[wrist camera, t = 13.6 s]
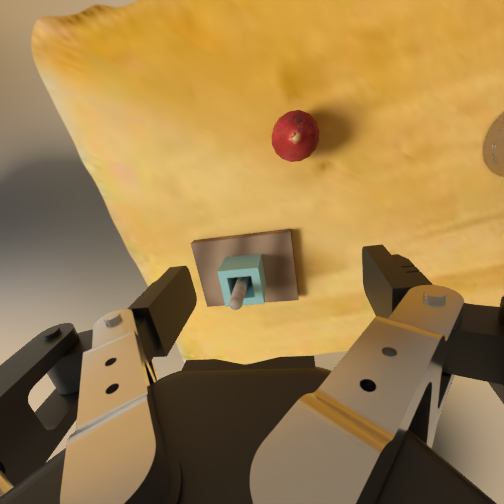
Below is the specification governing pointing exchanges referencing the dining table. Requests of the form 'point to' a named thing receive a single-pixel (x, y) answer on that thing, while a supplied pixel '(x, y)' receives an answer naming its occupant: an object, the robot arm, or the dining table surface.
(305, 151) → the onion
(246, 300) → the bead
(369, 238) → the dining table surface
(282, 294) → the stand
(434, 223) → the dining table surface
